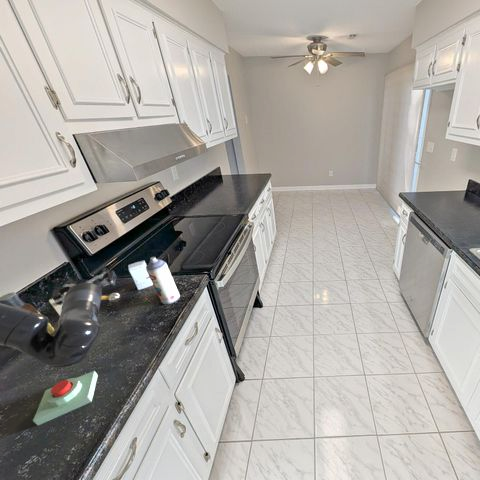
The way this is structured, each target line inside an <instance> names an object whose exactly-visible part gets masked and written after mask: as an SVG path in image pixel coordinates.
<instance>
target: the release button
mask: <svg viewBox="0 0 480 480" xmlns="http://www.w3.org/2000/svg"><path fill="white" fill-rule="evenodd" d="M51 388H52V389H51V393H52V394H53V395H54V396H55V397H60V396H63V395H64V394H66V393H67V392H68V391H69V390H70V389H71V388H72V385H71V383H70V382H69V381H68V380H67V379H65V380H61V381H59V382H57V383H56V384H55V385H54V386H53V387H51Z"/></svg>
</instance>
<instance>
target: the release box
mask: <svg viewBox="0 0 480 480" xmlns="http://www.w3.org/2000/svg"><path fill="white" fill-rule="evenodd" d="M98 377H99V374H98V373H97V372H96V371H95V370H92V371H90V372H88V373H84V374H82V375H80V376H78V377H69V378H67V379H66V380H68V381H69V382H70V383H71V385H72V388H71V389H70V390H69V391H68V392H67V393H66V394H64V395H63V396H60V397H55V396H54V395H53V394H52V393H51V389H52V388H53V387H51V388H48V389H46V390H44V393H43V395H42V398H41V401H40V402H39V405H38V407H37V410H36V413H35V415H34V417H33V419H32V422H33V423H35V425H37V426H40V425H43V424H46V423H47V422H49V421H52V420H54V419H56V418H58V417H60V416H63V415H65V414H67V413H70V412H73V411H74V410H76V409H79V408H81V407H83V406H86V405H88V404H90V403H92V402H93V399H94V394H95V389H96V386H97V381H98Z"/></svg>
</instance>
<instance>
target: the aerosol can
mask: <svg viewBox="0 0 480 480" xmlns="http://www.w3.org/2000/svg"><path fill="white" fill-rule="evenodd" d="M149 259H150V260H149V262H148V264H146V270H147V272H148V275H149V277H150V279H151V281H152V283H153V285H152V286H153V287H154V289H155V292H156V294H157V296H158V299H159V300H160V302H161V304H162V305H165V306H168V305H169V306H170V305H171V304H174V303H176V302H178V301H179V299H180V298H181V294H180V292H179V290H178V288H177V285H176V282H175V281H174V278H173V275H172V273H171V271H170V269H169V265H168V264H167V262H166V260H163V259H159V258H156V256H151V257H150V258H149Z"/></svg>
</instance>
